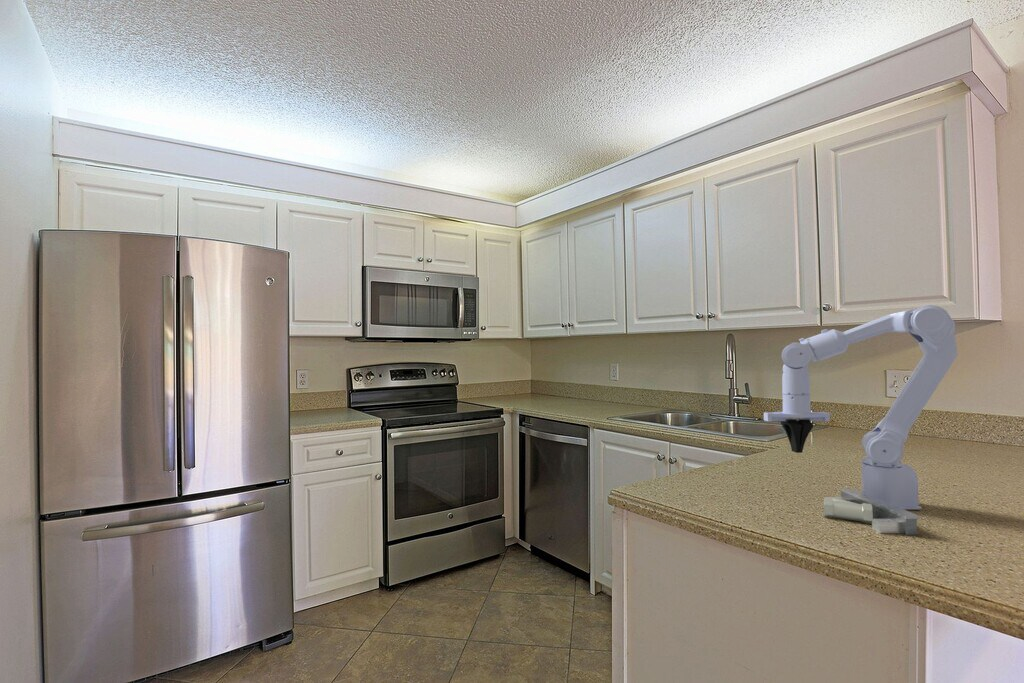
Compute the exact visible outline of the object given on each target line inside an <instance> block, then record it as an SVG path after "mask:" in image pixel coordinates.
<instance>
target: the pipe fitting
mask: <svg viewBox="0 0 1024 683" xmlns="http://www.w3.org/2000/svg"><path fill="white" fill-rule="evenodd" d="M833 497H834V498H831V499H829V498H826V497H824V498H823V516H824V518H831V519H834V518H836V519H842V520H848V521H849V520H850V521H855V522H857V521H858V522H862V523H864V524H870V525H872V519H873V509H872V505H871V504H867V503H862V504H857V503H853V502H850V501H846V500H842V499H839V498H835V497H836V496H833Z"/></svg>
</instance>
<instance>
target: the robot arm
mask: <svg viewBox="0 0 1024 683" xmlns="http://www.w3.org/2000/svg"><path fill="white" fill-rule="evenodd" d="M955 328H956V323H955V321H954V319H952V317H951V315H950V314H949V312H947V310H946V309H945V308H943V307H941V306H938V305H932V304H930V305H923V306H921V307H919V308H915V309H908V310H903V311H899V312H894V313H891V314H887V315H884V316H882V317H879V318H877V319H873V320H871V321H869V322H866V323H864V324H863V323H862V324H860V325H858V326H856V327H853V328H850V329H848V330H845V331H841V330H837V329H834V328H833V329H828V328H826V329H822V330H821V331H820V332H821V333H818V334H817V335H816V334H815V335H813V336H810V337H807V338H804V337H802V338H799V339H798V341H799V342H792V343H790V344H788V345H786V346H785V347H784V348H783V350H782V351H781V360H782V362H783V366H782V372H783V373H782V376H781V380H782V381H781V383H782V384H781V385H782V387H781V388H782V395H781V396H782V411H773V412H772V411H770V412H768V411H767V412H763V421H765V422H770V423H771V422H772V423H773V422H780V426H781V427H782V428H783V430H784V431H785V434H786V436H787V439H788V441H789V445H790V448H791V449H790V450H791V452H794V453H796V454H797V453H799V454H802V453H803V451H804V447H805V444H806V440H807V438H808V436H809V434H810V432H811V431H812V429H813V428H814V423H813V422H831V418H830V417H831V413H830V412H825V411H811V410H812V409H811V377H810V376H811V375H810V374H809V363H810V362H811V361H812V362H815V363H816V362H820V361H822V360H827V359H828V358H831V357H835V356H837V355H840V354H843V353H846V351H847V349H848V347H849V345H850V344H854V343H857V342H860V341H864V340H867V339H871V338H873V337H876V336H879V335H882V334H886V333H896V334H897V333H898V334H901V333H902V334H904V333H908V334H909V335H910V336H911V337H912V338H914V339H915V340H916V341H917V343H918V345H919V348H920V349H921V351H922V353H923V356H922V357H921V359H920V360H919V362H918V363H917V365H916V367H915V368H914V370H913V371H912V373H911V374H910V377H909V378H908V379H907V381H906V383H905V384H904V386H903V387H902V389H901V391H900V392H899V394H898V395H897V397H896V398H895V400H894V401H893V403H892V405H891V406H890V408H889V409H888V411H887V413H886V414H885V416H884V417H883V418H882V419H880V420H879V422H878V423H877V424H876V426H875V428H873V429H872V430H870V431H868V432H867V433H865V435H863V437H862V440H861V447H862V449H863V450H864V452H865V453H866V455H865V456H864V457H863V458H861V488H862V489H861V492H862V493H865V494H867V495H870V496H872V497H875V498H877V499H880V500H882V501H884V502H887V503H889V504H892V505H894V506H897V507H899V508H902V509H904V510H922V509H923V508H922V507H921V506H919V479H918V474H917V473H916V470H915V469H914V468H913V467H912V466H911V465H909V464H907V463H903V462H902V461H901V459H902V458H903V455H904V445H905V443H906V442H907V440H908V436H909V433H910V429H911V428H912V426H913V424H915V422H916V420H917V419H918V417H919V416H920V414H921V412H922V411H923V410H924V409H925V406H926V405H927V403H928V402H929V400H930V399H931V398H932V396H933V394H934V392H935V391H936V389H937V388H938V386H939V385H940V383H941V382H942V381H943V379H944V377H945V376H946V374H947V373H948V371H949V370H950V368H951V366H952V365H953V364H954V362H955V361H956V358H957V356H958V348H957V341H956V340H957V339H956V334H955V333H956V332H955V331H956V330H955Z"/></svg>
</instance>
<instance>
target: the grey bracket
mask: <svg viewBox="0 0 1024 683" xmlns="http://www.w3.org/2000/svg"><path fill="white" fill-rule="evenodd" d="M834 497H835V498H839V499H842V500H846V501H850V502H853V503H857V504H862V503H867V504H871V505H872V509H873V519H872V524H871V528H872V529H871V530H872V531H874V532H877V533H878V534H902V535H904V536H917V535H918V522H917V520H920V519H921V516H920V515H918V514H916V513H914V512H911V511H910V510H907V509H902V508H899V507H897V506H894V505H892V504H889V503H887V502H884V501H882V500H880V499H877V498H875V497H872V496H870V495H867V494H865V493H862V491H860V490H857V489H855V488H840V496H826V497H825V498H829V499H831V498H834Z"/></svg>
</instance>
